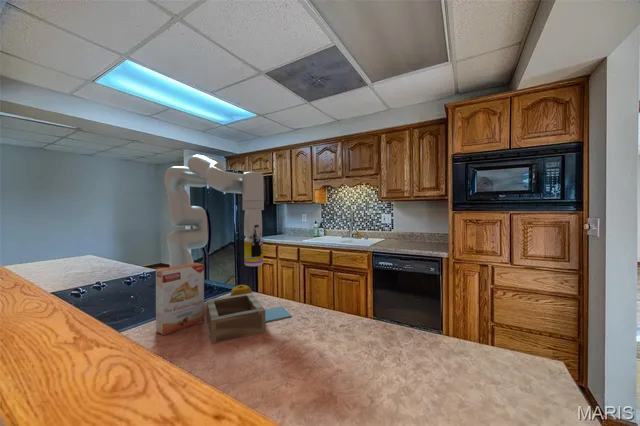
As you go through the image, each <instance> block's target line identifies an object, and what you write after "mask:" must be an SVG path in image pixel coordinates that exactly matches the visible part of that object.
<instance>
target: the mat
mask: <svg viewBox="0 0 640 426" xmlns="http://www.w3.org/2000/svg"><path fill="white" fill-rule="evenodd" d="M264 309H265V320H266V323H270V322H274V321H280V320H283V319H288V318H292V317H293V315H292V314H291V313H290V312H289V311H288V310H287V309H286V308H285V307H284V306H283V305H281V306H275V307H270V308H264Z"/></svg>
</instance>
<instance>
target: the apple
mask: <svg viewBox="0 0 640 426" xmlns="http://www.w3.org/2000/svg"><path fill="white" fill-rule="evenodd" d="M248 293H252V294H253V292H252V289H251V288H250V286H248V285H246V284H239V285H236V286H234V287H233V288H232V289H231V291H230V296H235V295H242V294H248Z"/></svg>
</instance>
